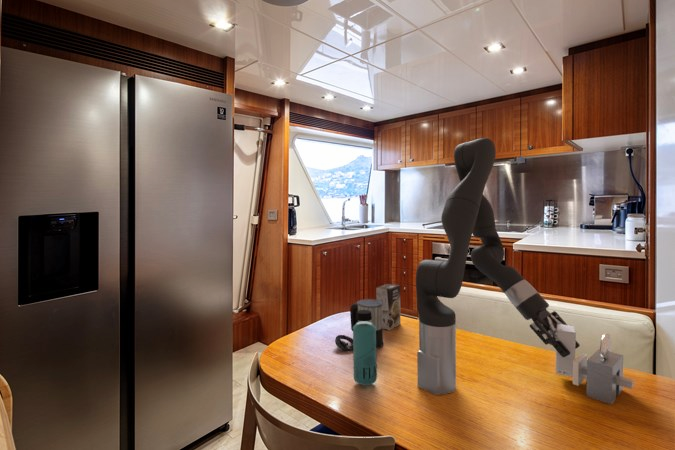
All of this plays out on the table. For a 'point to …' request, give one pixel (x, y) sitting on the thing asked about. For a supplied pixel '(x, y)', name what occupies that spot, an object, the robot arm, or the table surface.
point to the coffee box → (389, 304)
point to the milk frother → (376, 320)
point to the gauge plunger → (581, 373)
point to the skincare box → (569, 341)
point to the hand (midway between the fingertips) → (572, 351)
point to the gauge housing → (604, 372)
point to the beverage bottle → (364, 349)
